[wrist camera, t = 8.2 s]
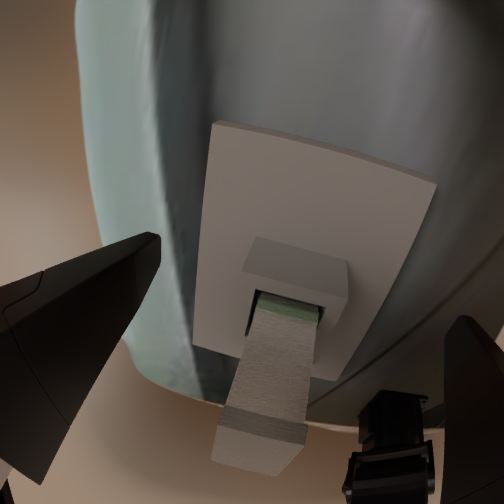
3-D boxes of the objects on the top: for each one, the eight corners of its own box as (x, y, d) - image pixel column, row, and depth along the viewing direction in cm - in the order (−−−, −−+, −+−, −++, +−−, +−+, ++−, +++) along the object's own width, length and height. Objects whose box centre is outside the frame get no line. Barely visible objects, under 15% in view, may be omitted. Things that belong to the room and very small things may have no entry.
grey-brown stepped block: (322, 297, 18) (306, 445, 11) (300, 350, 21) (277, 476, 14) (263, 282, 19) (216, 424, 11) (249, 337, 22) (209, 460, 14)
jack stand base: (430, 176, 18) (459, 213, 13) (336, 369, 29) (333, 417, 25) (220, 119, 19) (185, 138, 15) (197, 333, 30) (177, 376, 26)
